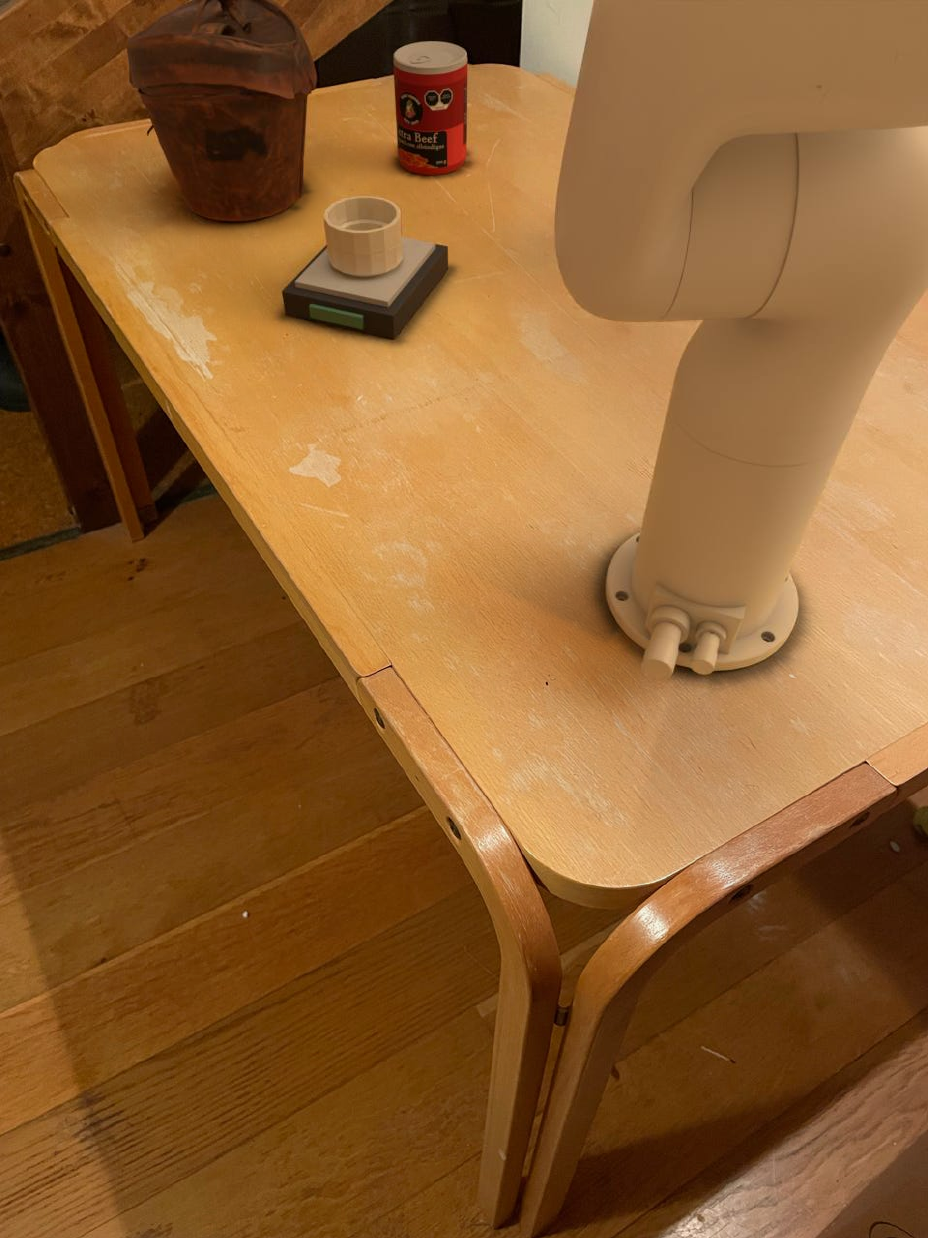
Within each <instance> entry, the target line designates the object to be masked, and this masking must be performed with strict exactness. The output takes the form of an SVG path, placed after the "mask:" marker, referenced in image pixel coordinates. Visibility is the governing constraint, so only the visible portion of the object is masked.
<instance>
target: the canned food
mask: <svg viewBox="0 0 928 1238" xmlns="http://www.w3.org/2000/svg"><path fill="white" fill-rule="evenodd" d="M392 63H393V84H394V103H395V104H394V105H395V122H396V140H397V156H398V159H399V162H400V164H401V166H402V167H403V168H404V169H405V170H406V171H408V172H411V173H413V174H417V175H422V176H423V175H424V176H438V175H439V176H440V175H445V174H449V173H452V172H455V171H457V170H458V169H460V168H462V166H463V165H464V163H465V160H466V157H467V148H468V147H467V142H468V141H467V139H468V137H467V136H468V54H467V51H466V49H465V48H463V47H461V46H459V45H457V44H454V43H451V42H446V41H435V40H434V41H432V40H430V41H418V42H414V43H409V44H406V45H404V46H402V47H400V48H398V49H396V50H395V52H394V53H393V62H392Z"/></svg>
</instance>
